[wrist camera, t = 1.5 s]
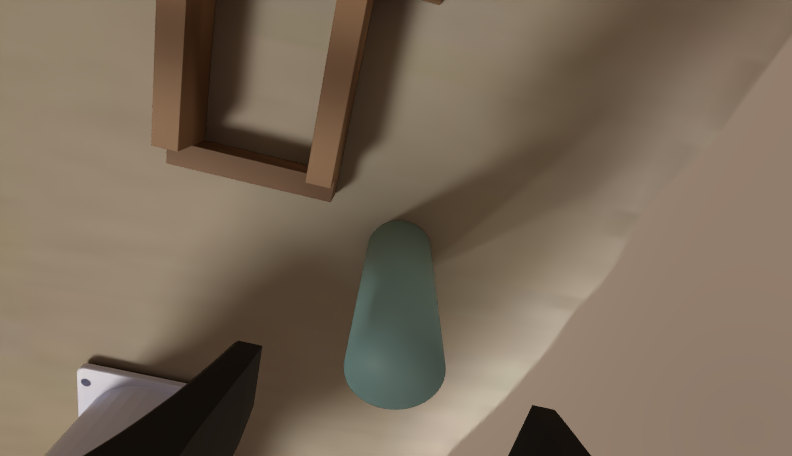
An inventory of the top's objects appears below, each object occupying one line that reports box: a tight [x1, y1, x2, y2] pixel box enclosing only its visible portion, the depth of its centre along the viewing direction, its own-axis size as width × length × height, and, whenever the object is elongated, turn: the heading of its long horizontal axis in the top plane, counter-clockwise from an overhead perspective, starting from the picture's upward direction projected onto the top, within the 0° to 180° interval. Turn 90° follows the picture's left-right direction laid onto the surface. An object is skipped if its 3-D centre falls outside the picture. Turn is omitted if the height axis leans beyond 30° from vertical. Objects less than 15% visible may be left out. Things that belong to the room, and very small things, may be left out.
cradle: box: [151, 0, 442, 202], centre depth 15 cm, size 12×12×5 cm
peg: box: [344, 221, 445, 410], centre depth 17 cm, size 3×3×8 cm
